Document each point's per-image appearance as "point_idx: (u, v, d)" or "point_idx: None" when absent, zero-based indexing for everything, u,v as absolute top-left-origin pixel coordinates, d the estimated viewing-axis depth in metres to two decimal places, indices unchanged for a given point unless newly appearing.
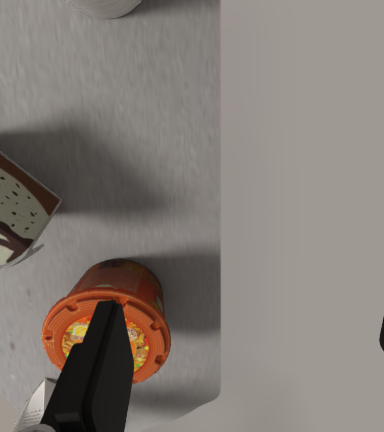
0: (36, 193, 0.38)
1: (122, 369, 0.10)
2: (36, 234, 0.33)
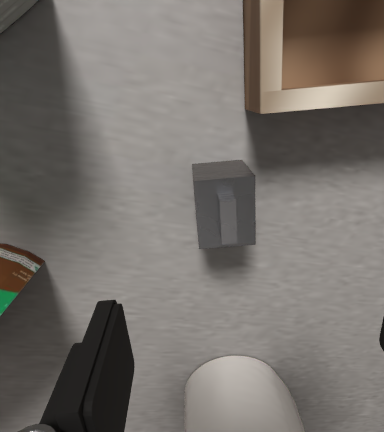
0: None
1: (122, 369, 0.10)
2: None
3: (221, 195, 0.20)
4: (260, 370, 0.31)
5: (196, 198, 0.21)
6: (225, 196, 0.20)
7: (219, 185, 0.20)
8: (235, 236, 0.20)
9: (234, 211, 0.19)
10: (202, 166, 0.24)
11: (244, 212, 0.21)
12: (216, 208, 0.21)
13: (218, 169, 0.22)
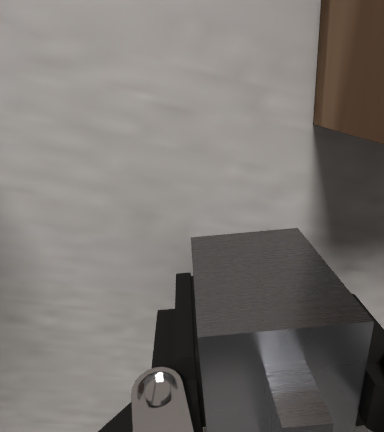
0: None
1: None
2: None
3: (278, 381, 0.07)
4: None
5: (205, 375, 0.07)
6: (292, 389, 0.07)
7: (270, 345, 0.07)
8: None
9: None
10: (215, 251, 0.11)
11: (330, 399, 0.08)
12: (258, 394, 0.08)
13: (255, 270, 0.09)
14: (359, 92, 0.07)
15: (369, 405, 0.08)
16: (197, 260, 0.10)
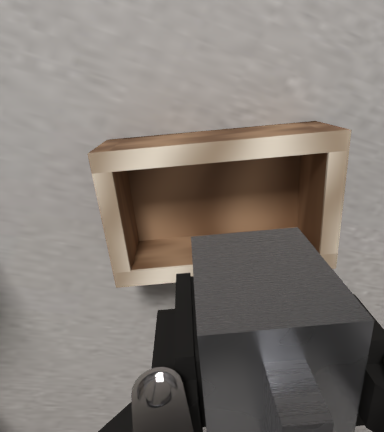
0: None
1: None
2: None
3: (278, 380, 0.07)
4: None
5: (205, 374, 0.07)
6: (292, 387, 0.07)
7: (270, 344, 0.07)
8: None
9: None
10: (215, 250, 0.10)
11: (331, 398, 0.08)
12: (258, 393, 0.08)
13: (255, 269, 0.09)
14: None
15: (369, 405, 0.08)
16: (197, 259, 0.10)
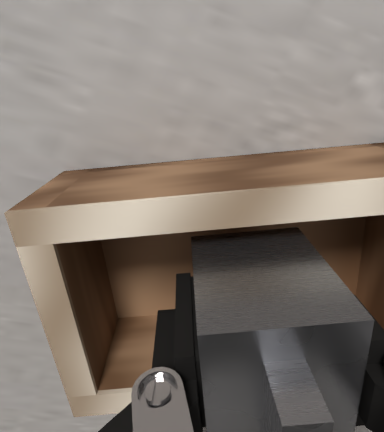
0: None
1: None
2: None
3: (278, 380, 0.07)
4: None
5: (205, 374, 0.07)
6: (292, 387, 0.07)
7: (270, 344, 0.07)
8: None
9: None
10: (214, 250, 0.10)
11: (331, 398, 0.08)
12: (258, 393, 0.08)
13: (255, 268, 0.09)
14: None
15: (369, 405, 0.08)
16: (197, 259, 0.10)
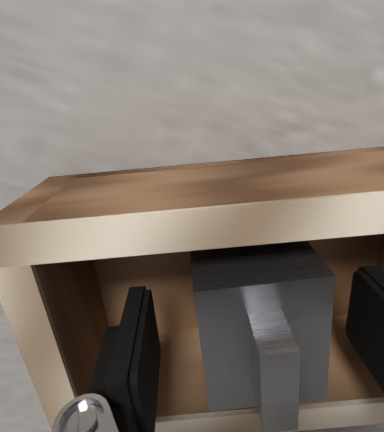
0: None
1: (153, 350, 0.10)
2: None
3: (259, 325, 0.09)
4: None
5: (201, 325, 0.09)
6: (269, 330, 0.08)
7: (252, 298, 0.09)
8: (294, 417, 0.09)
9: (295, 373, 0.08)
10: None
11: (305, 345, 0.10)
12: (245, 341, 0.09)
13: None
14: None
15: None
16: None
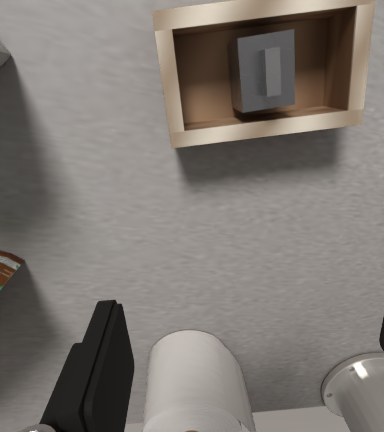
0: None
1: (122, 369, 0.10)
2: None
3: None
4: (206, 341, 0.38)
5: (240, 57, 0.22)
6: None
7: (261, 41, 0.22)
8: (279, 87, 0.22)
9: (278, 59, 0.21)
10: None
11: (284, 69, 0.23)
12: (258, 67, 0.22)
13: None
14: None
15: None
16: (231, 43, 0.25)
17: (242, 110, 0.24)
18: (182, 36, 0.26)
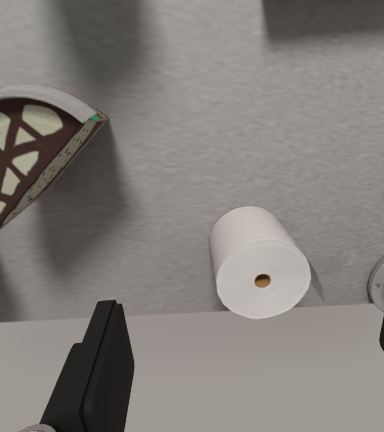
0: (53, 178, 0.37)
1: (122, 369, 0.10)
2: (8, 220, 0.31)
3: None
4: (268, 213, 0.41)
5: None
6: None
7: None
8: None
9: None
10: None
11: None
12: None
13: None
14: None
15: None
16: None
17: None
18: None
